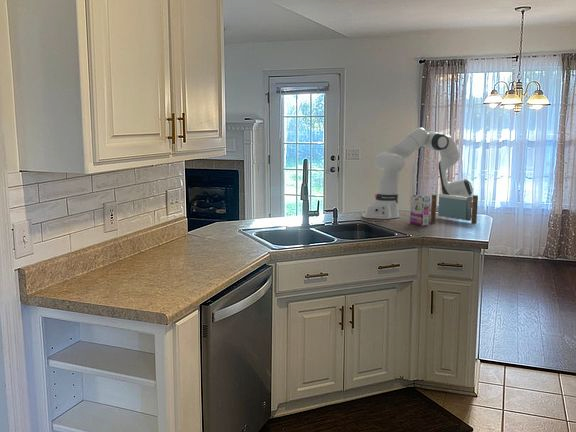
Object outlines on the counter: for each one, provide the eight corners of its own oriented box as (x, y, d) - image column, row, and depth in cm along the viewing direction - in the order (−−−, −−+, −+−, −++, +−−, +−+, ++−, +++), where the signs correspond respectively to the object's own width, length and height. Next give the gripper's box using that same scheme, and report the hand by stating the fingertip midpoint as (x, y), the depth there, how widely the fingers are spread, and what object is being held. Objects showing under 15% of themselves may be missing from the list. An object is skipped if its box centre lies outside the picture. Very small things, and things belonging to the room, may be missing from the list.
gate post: (472, 223, 318) (473, 195, 316) (471, 222, 321) (472, 195, 319) (476, 223, 318) (478, 195, 315) (475, 222, 321) (477, 195, 318)
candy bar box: (429, 225, 311) (430, 196, 309) (422, 226, 309) (423, 197, 307) (416, 222, 321) (417, 194, 319) (409, 223, 319) (410, 194, 317)
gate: (437, 215, 337) (438, 193, 335) (440, 215, 338) (441, 193, 336) (469, 220, 318) (470, 197, 316) (471, 220, 320) (472, 197, 317)
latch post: (431, 222, 320) (432, 195, 318) (430, 222, 322) (431, 194, 320) (435, 223, 320) (436, 195, 317) (435, 222, 322) (436, 194, 320)
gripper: (445, 195, 358) (439, 198, 347) (478, 197, 348) (473, 200, 336) (445, 205, 359) (439, 208, 348) (477, 207, 349) (472, 210, 337)
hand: (456, 204), depth 342 cm, fingers closed
